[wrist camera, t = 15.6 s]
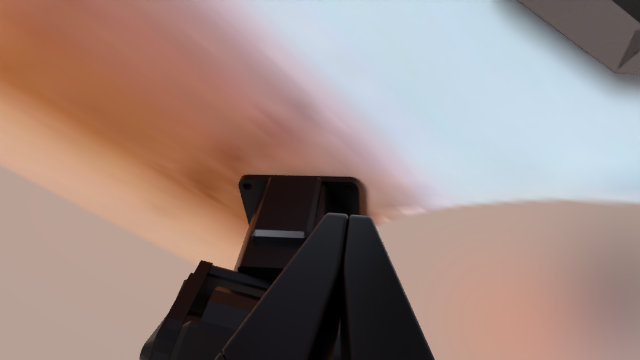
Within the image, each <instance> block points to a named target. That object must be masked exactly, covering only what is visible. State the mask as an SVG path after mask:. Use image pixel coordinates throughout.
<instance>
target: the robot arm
mask: <svg viewBox="0 0 640 360" xmlns="http://www.w3.org/2000/svg"><path fill="white" fill-rule="evenodd" d="M246 183H249V184H251V185H247V184H246ZM348 185H349V186H352V188H348V187H346V186H348ZM239 189H240V193H241V197H242V201H243V204H244V208H245V212H246V216H247V219H248V223H249V228H248V231H247V234H246V237H245V239H244V242H243V245H242V248H241V251H240V254H239V257H238V260H237V262H236V265H235V268H234V271H233V270H229V269H225V268H221V267H218V266H214V265H213V263H210V262H206V261H202V260H201V261H200V263H199V265H198V267H197V269H196V270H195V272H194V273H191V274H190V275H189V277H188V279H187V280H184V282H183V285H182V287H181V289H180V291H179V294H178V296H177V298H176V300H175V302H174V304H173V305H172V307H171V309H170V311H169V313H168V314H167V316H166V317H165V318H164V320H163V321H162V322H161V324H160V325H159V326H158V327H157V329H156V330H155V331H154V332H153V334H152V335H151V336H150V338H149V339H148V340H147V341H146V343H145V344H144V346H143V348H142V350H141V354H140V360H435V359H434V357H433V355H432V353H431V350H430V348H429V346H428V343H427V341H426V339H425V337H424V334H423V332H422V330H421V328H420V325H419V323H418V321H417V319H416V316H415V314H414V312H413V310H412V308H411V305H410V303H409V301H408V298H407V296H406V294H405V292H404V289H403V287H402V285H401V283H400V280H399V278H398V276H397V274H396V271H395V269H394V267H393V265H392V263H391V260H390V258H389V256H388V253H387V251H386V249H385V247H384V245H383V242H382V240H381V238H380V236H379V233H378V231H377V229H376V227H375V224H374V222H373V220H372V218H371V217H369V216H361V215H360V191H359V182H358V181H357V179H355V178H353V177H332V176H285V175H244V176H242V177H241V179H240V182H239Z"/></svg>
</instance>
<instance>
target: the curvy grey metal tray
mask: <svg viewBox="0 0 640 360" xmlns="http://www.w3.org/2000/svg"><path fill="white" fill-rule="evenodd" d="M518 1H520V2H521V3H522V4H524V5H525V6H526V7H528V8H529V9H530V10H532V11H533V12H534V13H536V14H537V15H538V16H540V17H541V18H542V19H544V20H545V21H546V22H548V23H549V24H550V25H552V26H553V27H554V28H556V29H557V30H558V31H560V32H561V33H562V34H564V35H565V36H566V37H568V38H569V39H570V40H572V41H573V42H574V43H576V44H577V45H578V46H580V47H581V48H582V49H584V50H585V51H586V52H588V53H589V54H590V55H592V56H593V57H594V58H596V59H597V60H598V61H600V62H601V63H602V64H604V65H605V66H606V67H607V68H609V69H610V70H611V71H613V72H614V73H624V74H639V75H640V0H518Z"/></svg>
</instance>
